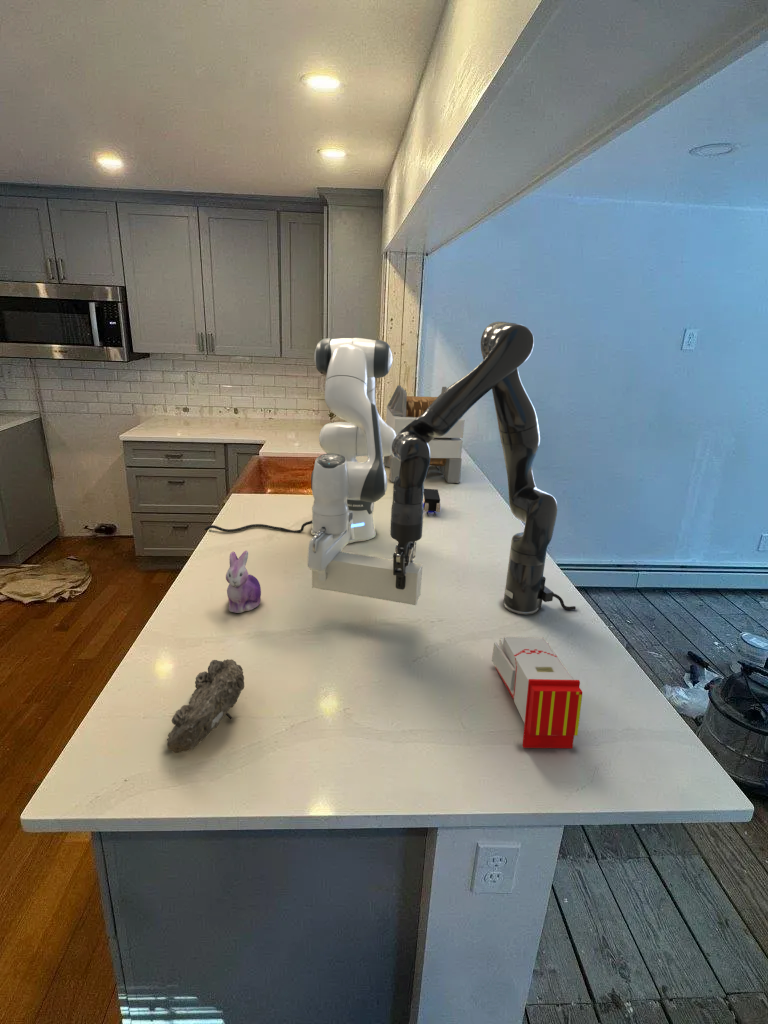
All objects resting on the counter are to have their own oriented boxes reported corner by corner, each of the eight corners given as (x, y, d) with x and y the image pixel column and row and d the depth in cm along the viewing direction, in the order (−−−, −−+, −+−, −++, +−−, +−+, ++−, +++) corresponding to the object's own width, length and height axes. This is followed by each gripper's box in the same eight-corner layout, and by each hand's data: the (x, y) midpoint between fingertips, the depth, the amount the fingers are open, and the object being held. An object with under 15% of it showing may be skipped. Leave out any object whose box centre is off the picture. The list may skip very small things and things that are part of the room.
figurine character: (440, 521, 217) (436, 504, 231) (442, 503, 214) (438, 487, 227) (423, 520, 217) (420, 503, 230) (424, 502, 214) (421, 486, 227)
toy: (540, 620, 128) (592, 687, 99) (535, 674, 131) (584, 755, 102) (487, 619, 128) (523, 686, 99) (483, 673, 131) (517, 754, 101)
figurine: (230, 617, 142) (227, 563, 137) (221, 599, 150) (218, 547, 145) (267, 610, 146) (266, 557, 141) (256, 593, 154) (255, 542, 149)
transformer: (382, 463, 289) (386, 382, 275) (445, 464, 293) (451, 384, 279) (390, 482, 257) (394, 392, 243) (460, 483, 261) (468, 394, 247)
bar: (311, 587, 143) (311, 557, 140) (320, 578, 148) (320, 548, 145) (415, 605, 136) (417, 573, 133) (420, 594, 141) (422, 564, 138)
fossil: (192, 660, 117) (244, 628, 112) (224, 691, 120) (276, 661, 115) (142, 746, 98) (202, 712, 93) (182, 779, 101) (242, 748, 96)
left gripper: (326, 538, 128) (326, 592, 133) (355, 510, 147) (354, 558, 151) (300, 534, 130) (301, 588, 134) (332, 506, 148) (332, 555, 153)
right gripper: (415, 531, 125) (411, 599, 131) (428, 510, 138) (424, 573, 144) (383, 526, 127) (380, 593, 133) (399, 506, 140) (396, 568, 146)
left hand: (329, 572), depth 143 cm, fingers open, 7 cm apart
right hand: (403, 582), depth 138 cm, fingers closed on bar, 5 cm apart
